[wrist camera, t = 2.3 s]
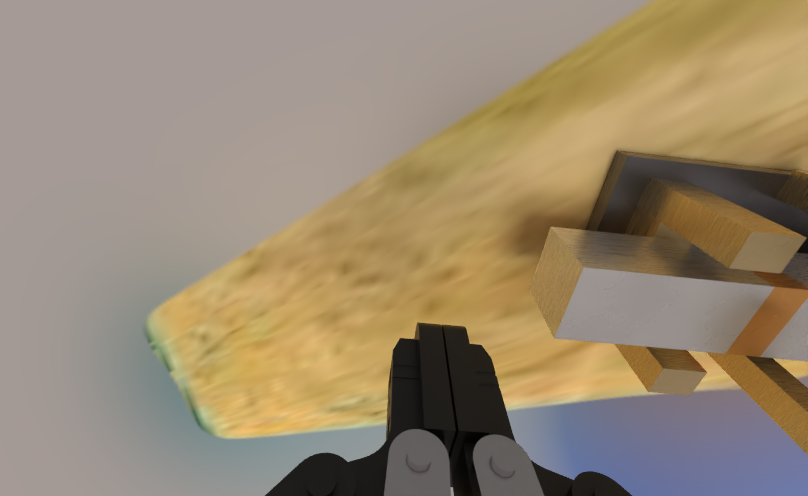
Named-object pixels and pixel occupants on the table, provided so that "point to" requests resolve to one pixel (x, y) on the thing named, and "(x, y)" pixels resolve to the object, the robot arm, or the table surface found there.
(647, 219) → the tan bracket pieces
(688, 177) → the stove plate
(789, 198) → the bridge
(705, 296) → the rod
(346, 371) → the table surface
